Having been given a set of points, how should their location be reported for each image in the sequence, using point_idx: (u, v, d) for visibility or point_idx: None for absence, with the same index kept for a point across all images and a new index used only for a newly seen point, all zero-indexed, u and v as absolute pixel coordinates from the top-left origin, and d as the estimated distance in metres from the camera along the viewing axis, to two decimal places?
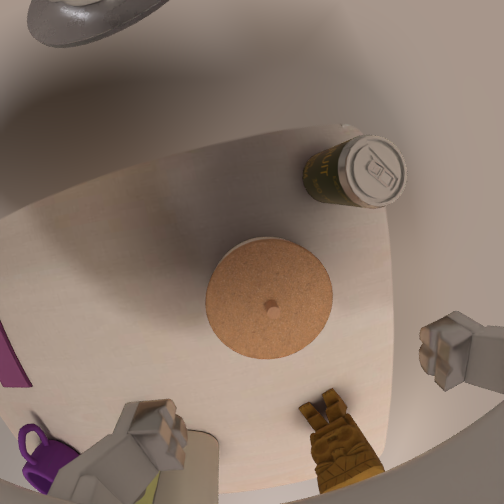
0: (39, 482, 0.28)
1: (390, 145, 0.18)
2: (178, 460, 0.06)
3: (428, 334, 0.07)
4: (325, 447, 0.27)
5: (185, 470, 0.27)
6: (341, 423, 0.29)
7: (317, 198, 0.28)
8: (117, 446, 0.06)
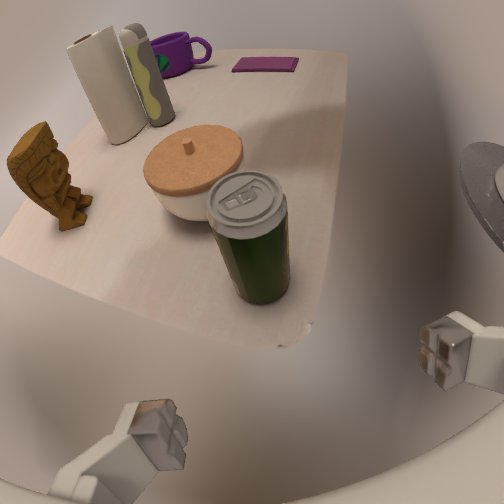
0: (172, 39, 0.58)
1: (262, 218, 0.17)
2: (178, 460, 0.06)
3: (427, 334, 0.07)
4: (60, 163, 0.31)
5: (122, 99, 0.40)
6: (61, 192, 0.32)
7: None
8: (117, 446, 0.06)
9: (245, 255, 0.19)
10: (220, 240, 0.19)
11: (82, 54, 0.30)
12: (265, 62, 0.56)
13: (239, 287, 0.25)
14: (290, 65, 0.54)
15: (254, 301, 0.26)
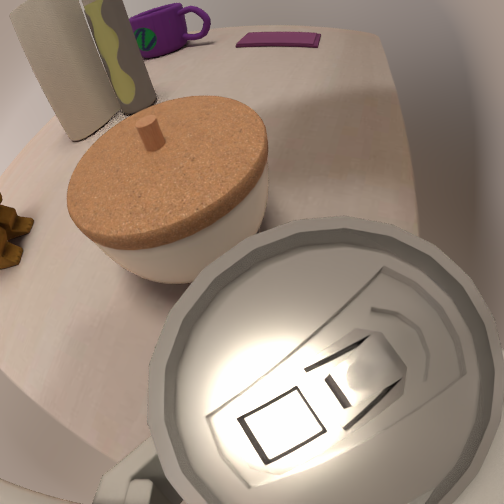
0: None
1: (430, 503, 0.02)
2: None
3: None
4: None
5: (81, 76, 0.25)
6: None
7: None
8: None
9: None
10: None
11: (26, 17, 0.15)
12: (279, 36, 0.41)
13: None
14: (312, 40, 0.39)
15: None
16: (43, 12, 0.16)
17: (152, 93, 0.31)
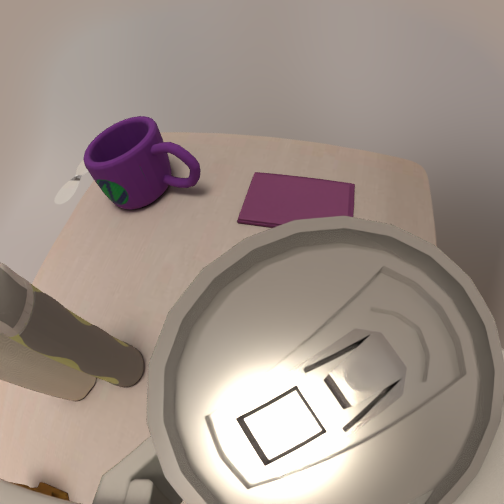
0: (132, 129, 0.38)
1: (431, 503, 0.02)
2: None
3: None
4: None
5: (47, 372, 0.20)
6: None
7: None
8: None
9: None
10: None
11: None
12: (298, 200, 0.36)
13: None
14: None
15: None
16: None
17: (138, 369, 0.26)
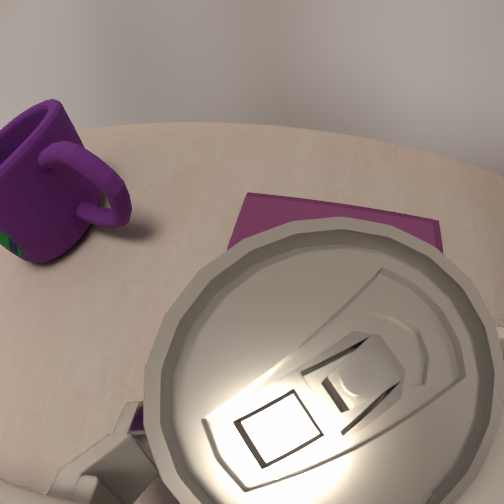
0: (38, 124, 0.18)
1: None
2: None
3: None
4: None
5: None
6: None
7: None
8: (117, 446, 0.06)
9: None
10: None
11: None
12: None
13: None
14: None
15: None
16: None
17: None
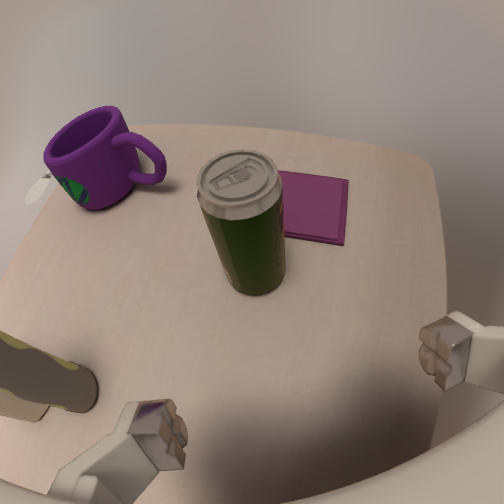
0: (98, 120, 0.32)
1: (255, 198, 0.16)
2: (178, 460, 0.06)
3: (428, 334, 0.07)
4: None
5: None
6: None
7: None
8: (117, 446, 0.06)
9: (237, 239, 0.18)
10: (210, 222, 0.18)
11: None
12: None
13: (231, 276, 0.24)
14: (336, 220, 0.28)
15: (247, 292, 0.25)
16: None
17: (89, 395, 0.21)
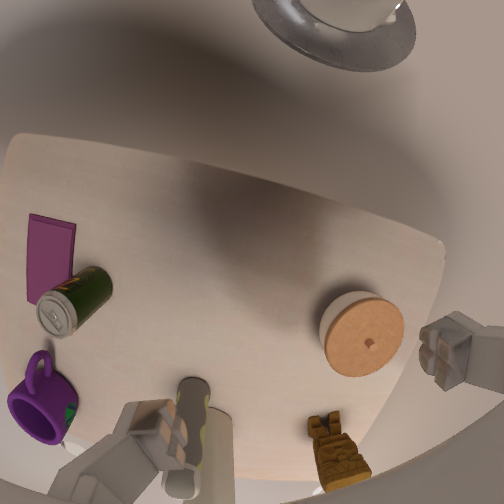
0: (18, 409, 0.31)
1: (65, 308, 0.25)
2: (178, 460, 0.06)
3: (428, 334, 0.07)
4: (330, 451, 0.35)
5: (215, 443, 0.34)
6: (342, 437, 0.38)
7: None
8: (117, 446, 0.06)
9: (84, 311, 0.28)
10: (78, 327, 0.27)
11: None
12: (47, 267, 0.35)
13: (102, 304, 0.34)
14: (59, 229, 0.34)
15: (110, 291, 0.35)
16: None
17: (193, 382, 0.39)
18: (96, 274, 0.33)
